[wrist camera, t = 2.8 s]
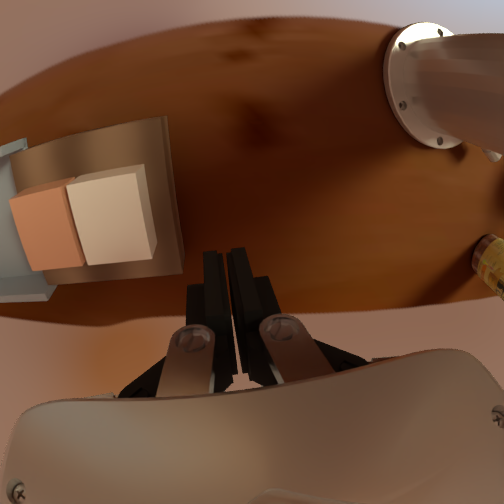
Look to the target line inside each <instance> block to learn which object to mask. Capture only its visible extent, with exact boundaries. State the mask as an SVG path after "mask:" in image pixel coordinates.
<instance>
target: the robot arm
mask: <svg viewBox="0 0 504 504" xmlns="http://www.w3.org/2000/svg"><path fill="white" fill-rule="evenodd" d="M383 79H384V85H385V91H386V95H387V98H388V101H389V104H390V107H391V109H392V111H393V113H394V115H395V117H396V119H397V120H398V122H399V123H400V125H401V126H402V128H403V129H404V130H405V131H406V132H407V133H408V134H409V135H410V136H411V137H413V138H414V139H415V140H417V141H418V142H420V143H422V144H425V145H427V146H430V147H433V148H436V149H447V148H452V147H455V146H457V145H459V144H460V143H462V142H463V141H466V142H469V143H471V144H474V145H476V146H480V147H481V149H482V151H483V152H484V153H485V155H486V156H487V157H488V159H489V160H490V161H491V162H497V161H498V160H499V159H500V158H501V155H503V156H504V34H503V33H482V34H481V33H479V34H458V35H454V34H453V33H451V32H450V31H448V30H447V29H445V28H444V27H441V26H439V25H437V24H433V23H429V22H418V23H414V24H410V25H407V26H405V27H403V28H401V29H400V30H399V31H398V32H397V33H396V34H395V35H394V36H393V38H392V39H391V41H390V42H389V44H388V47H387V50H386V53H385V58H384V64H383ZM226 255H227V266H228V276H229V286H230V296H231V306H232V313H233V319H234V326H235V332H236V338H237V343H238V349H239V355H240V361H241V367H242V372H243V373H248V375H249V379H250V381H255V382H256V383H258V384H260V385H261V387H259V388H252V389H245V390H237V391H229V392H225V390H226V388H228V387H229V386H230V385H231V384H232V383H233V377H232V375H235V374H238V370H237V361H236V353H235V345H234V336H233V327H232V319H231V311H230V304H229V297H228V291H227V284H226V277H225V270H224V263H223V256H222V253H220V254H217V251H207V252H203V263H204V283H203V284H193V285H188V286H187V303H186V326H184V327H182V328H180V329H179V330H177V331H176V332H175V333H174V334H173V335H172V338H171V340H170V343H169V348H168V351H167V355H166V356H165V357H164V358H163V359H161V360H160V361H159V362H157V363H156V364H155V365H153V366H152V367H151V368H150V369H148V370H147V371H146V372H144V373H143V374H142V375H141V376H139V377H138V378H137V379H135V380H134V381H133V382H131V383H130V384H129V385H127V386H126V387H125V388H124V389H123V390H122V391H121V392H120V394H119V395H114V394H113V393H107V394H102V395H97V396H91V397H86V398H72V399H61V400H55V401H49V402H46V403H42V404H38V405H36V406H33V407H31V408H29V409H27V410H26V411H25V412H24V413H22V414H21V415H20V417H19V418H18V419H17V421H16V423H15V425H14V427H13V429H12V431H11V434H10V436H9V439H8V442H7V445H6V448H5V452H4V456H3V460H2V464H1V468H0V504H504V390H503V389H502V387H501V386H500V385H499V383H498V382H497V381H496V379H495V378H494V377H493V376H492V374H491V373H490V372H489V371H488V370H487V369H486V367H485V366H484V365H483V364H482V363H481V362H480V361H479V360H478V359H476V358H475V357H474V356H472V355H471V354H470V353H468V352H465V351H462V350H458V349H431V350H424V351H419V352H414V353H410V354H406V355H403V356H394V357H382V358H372V359H371V361H370V362H367V361H366V360H365V359H363V358H361V357H359V356H356V355H354V354H351V353H348V352H346V351H343V350H340V349H338V348H335V347H333V346H330V345H328V344H325V343H323V342H320V341H317V340H315V339H313V338H312V337H311V335H310V334H309V332H308V331H307V329H306V328H305V326H304V325H303V323H302V322H301V321H300V320H299V319H298V318H296V317H294V316H291V315H288V314H282V313H281V310H280V308H279V305H278V302H277V299H276V297H275V294H274V291H273V288H272V286H271V283H270V280H269V278H268V276H263V277H255V278H253V275H252V271H251V268H250V264H249V261H248V257H247V254H246V250H245V247H243V248H234V249H231V252H230V253H226Z"/></svg>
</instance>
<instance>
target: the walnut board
mask: <svg viewBox="0 0 504 504" xmlns="http://www.w3.org/2000/svg"><path fill="white" fill-rule="evenodd" d="M9 158H10V163H11V168H12V173H13V178H14V182H15V186H16V191H17V194H18V193H20V192H21V191H23V190H24V189H26V188H30V187H34V186H38V185H42V184H46V183H50V182H54V181H58V180H62V179H67V178H71V177H75V179H76V178H77V177H79V176H80V175H85V174H90V173H95V172H100V171H105V170H111V169H116V168H122V167H128V166H134V165H140V164H144V167H145V174H146V181H147V187H148V194H149V200H150V205H151V211H152V217H153V222H154V228H155V233H156V238H157V245H156V248H155V251H154V254H153V258H152V259H147V260H137V261H127V262H117V263H107V264H98V265H88V264H87V261H85V263H84V264H83V266H78V267H69V268H59V269H49V270H42V272H43V274H44V277H45V279H46V281H47V284H48V285H59V284H72V283H85V282H97V281H109V280H121V279H132V278H143V277H154V276H165V275H176V274H183V268H184V260H185V252H184V245H183V239H182V233H181V227H180V220H179V213H178V206H177V199H176V191H175V184H174V176H173V168H172V159H171V150H170V140H169V130H168V120H167V116H161V117H154V118H148V119H142V120H136V121H131V122H126V123H121V124H116V125H111V126H106V127H102V128H97V129H93V130H89V131H85V132H81V133H77V134H73V135H69V136H66V137H62V138H59V139H55V140H52V141H49V142H45V143H42V144H39V145H36V146H33V147H30V148H27V149H24V150H22V151H20V152H17V153H15V154H13V155H10V156H9Z"/></svg>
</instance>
